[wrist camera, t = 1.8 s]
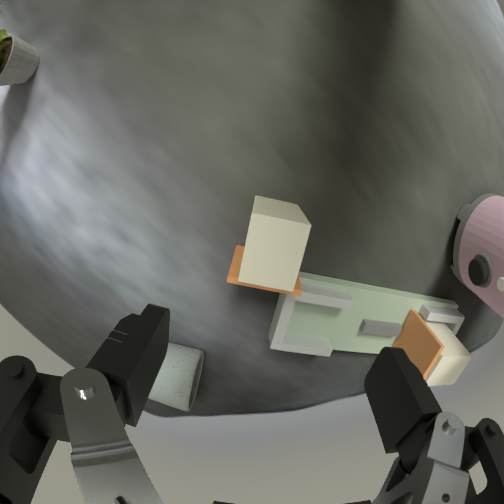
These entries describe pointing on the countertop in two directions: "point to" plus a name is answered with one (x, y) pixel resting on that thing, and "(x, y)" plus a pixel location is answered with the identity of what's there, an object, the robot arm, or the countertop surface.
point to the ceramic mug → (178, 377)
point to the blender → (482, 249)
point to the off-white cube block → (272, 248)
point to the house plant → (16, 59)
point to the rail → (371, 324)
